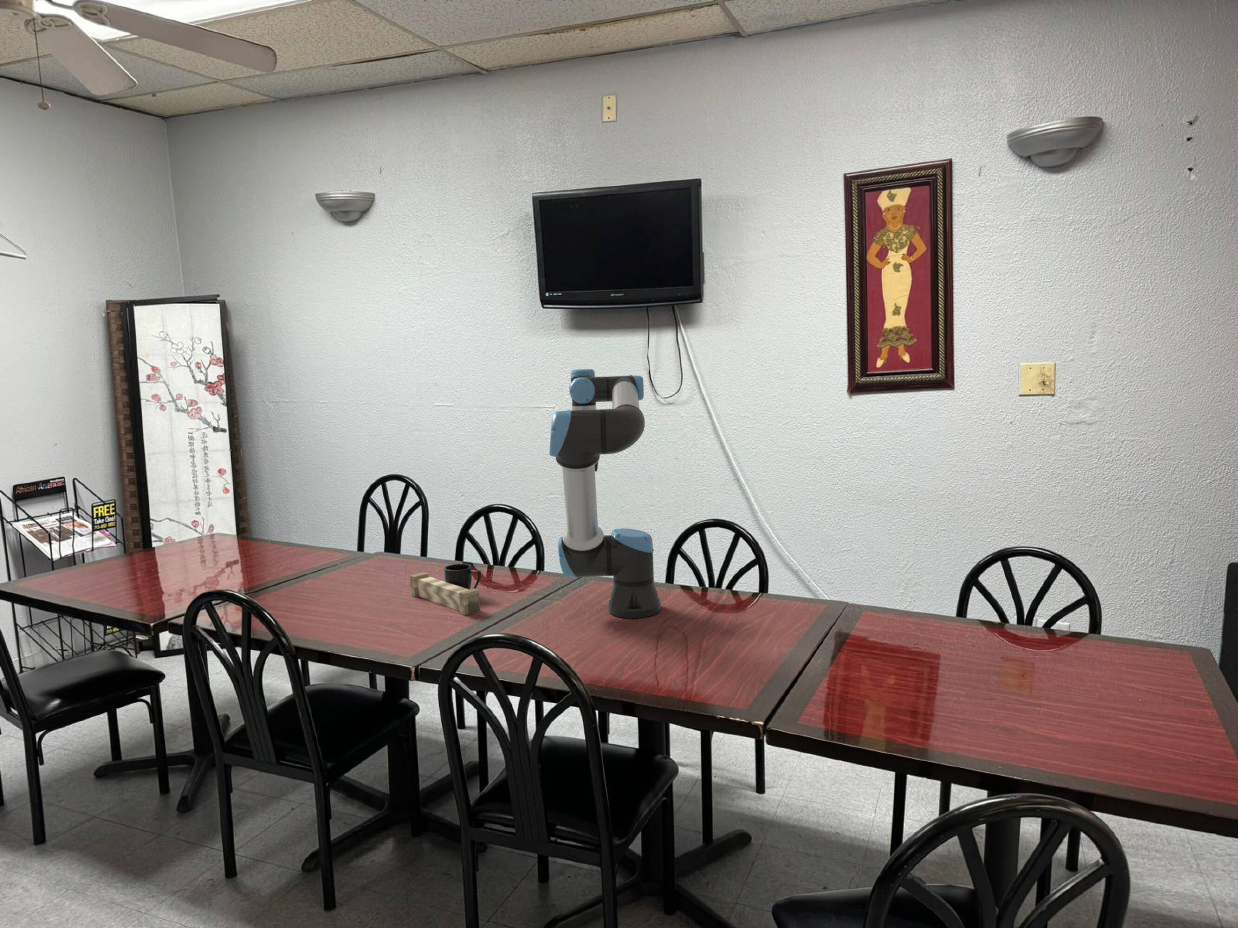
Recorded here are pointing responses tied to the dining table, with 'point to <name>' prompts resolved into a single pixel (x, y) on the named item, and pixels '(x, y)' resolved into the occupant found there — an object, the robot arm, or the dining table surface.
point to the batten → (445, 593)
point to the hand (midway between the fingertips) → (587, 493)
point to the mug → (461, 575)
